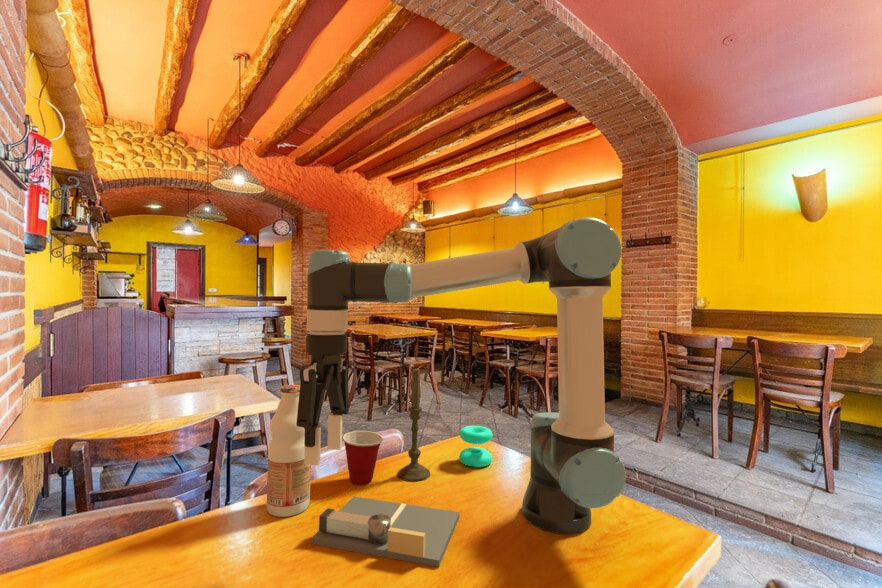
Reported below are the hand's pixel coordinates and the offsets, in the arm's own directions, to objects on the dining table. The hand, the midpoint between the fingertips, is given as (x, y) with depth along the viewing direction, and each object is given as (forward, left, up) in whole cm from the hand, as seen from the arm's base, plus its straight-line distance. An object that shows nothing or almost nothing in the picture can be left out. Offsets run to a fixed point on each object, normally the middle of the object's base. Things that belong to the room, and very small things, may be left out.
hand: (323, 455), depth 76 cm
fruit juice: (+17, -15, -19) cm, 30 cm away
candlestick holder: (-5, -41, -19) cm, 46 cm away
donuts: (-20, -55, -19) cm, 61 cm away
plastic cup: (+7, -33, -19) cm, 39 cm away
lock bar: (-3, -7, -17) cm, 19 cm away
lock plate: (-9, -13, -19) cm, 25 cm away
